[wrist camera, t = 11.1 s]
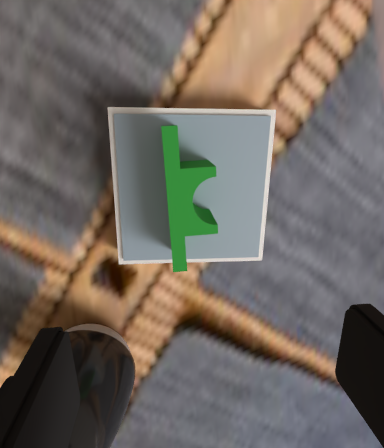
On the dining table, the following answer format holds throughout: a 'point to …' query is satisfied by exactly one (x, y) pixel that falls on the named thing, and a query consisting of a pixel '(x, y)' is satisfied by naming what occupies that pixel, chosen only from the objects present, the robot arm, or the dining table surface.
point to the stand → (204, 194)
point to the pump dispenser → (100, 384)
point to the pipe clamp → (184, 197)
